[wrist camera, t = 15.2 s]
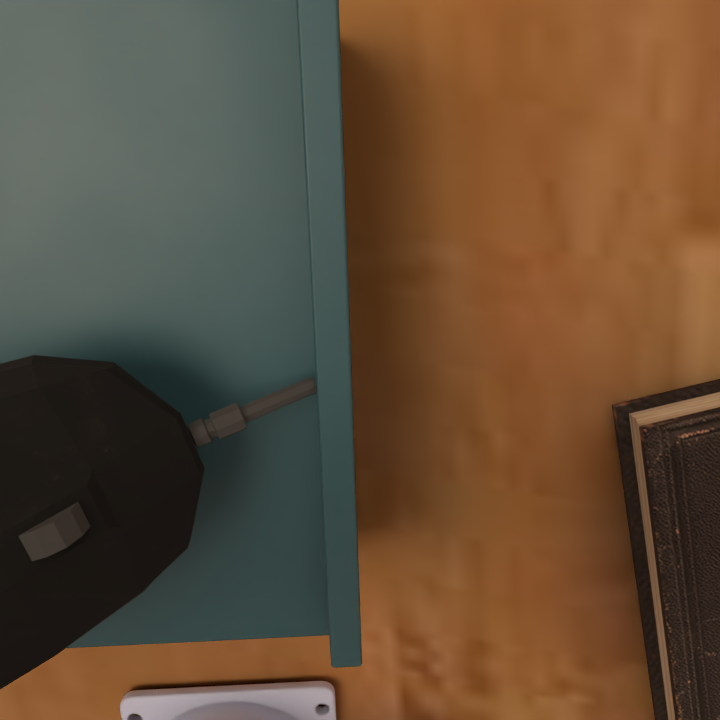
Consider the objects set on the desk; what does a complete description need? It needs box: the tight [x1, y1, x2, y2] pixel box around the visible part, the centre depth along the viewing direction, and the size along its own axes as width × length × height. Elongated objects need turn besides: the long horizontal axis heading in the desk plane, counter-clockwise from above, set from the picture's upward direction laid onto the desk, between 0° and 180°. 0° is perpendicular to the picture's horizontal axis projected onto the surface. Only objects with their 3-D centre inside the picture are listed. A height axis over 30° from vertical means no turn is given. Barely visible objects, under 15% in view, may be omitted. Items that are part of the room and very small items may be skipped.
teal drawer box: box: [0, 0, 362, 668], centre depth 16 cm, size 16×11×6 cm
